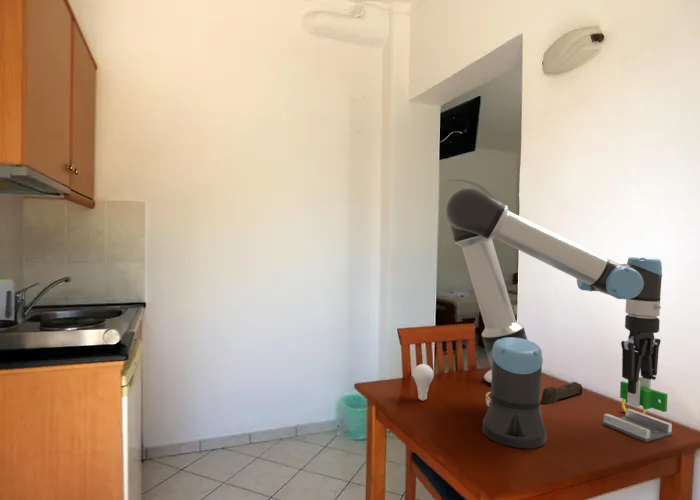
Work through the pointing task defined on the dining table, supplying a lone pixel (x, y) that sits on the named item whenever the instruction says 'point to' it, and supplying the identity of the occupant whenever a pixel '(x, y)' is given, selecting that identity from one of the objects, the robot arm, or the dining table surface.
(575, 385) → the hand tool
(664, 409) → the pipe clamp
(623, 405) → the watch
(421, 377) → the lightbulb
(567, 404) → the dining table surface
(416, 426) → the dining table surface
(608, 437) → the dining table surface
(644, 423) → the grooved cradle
